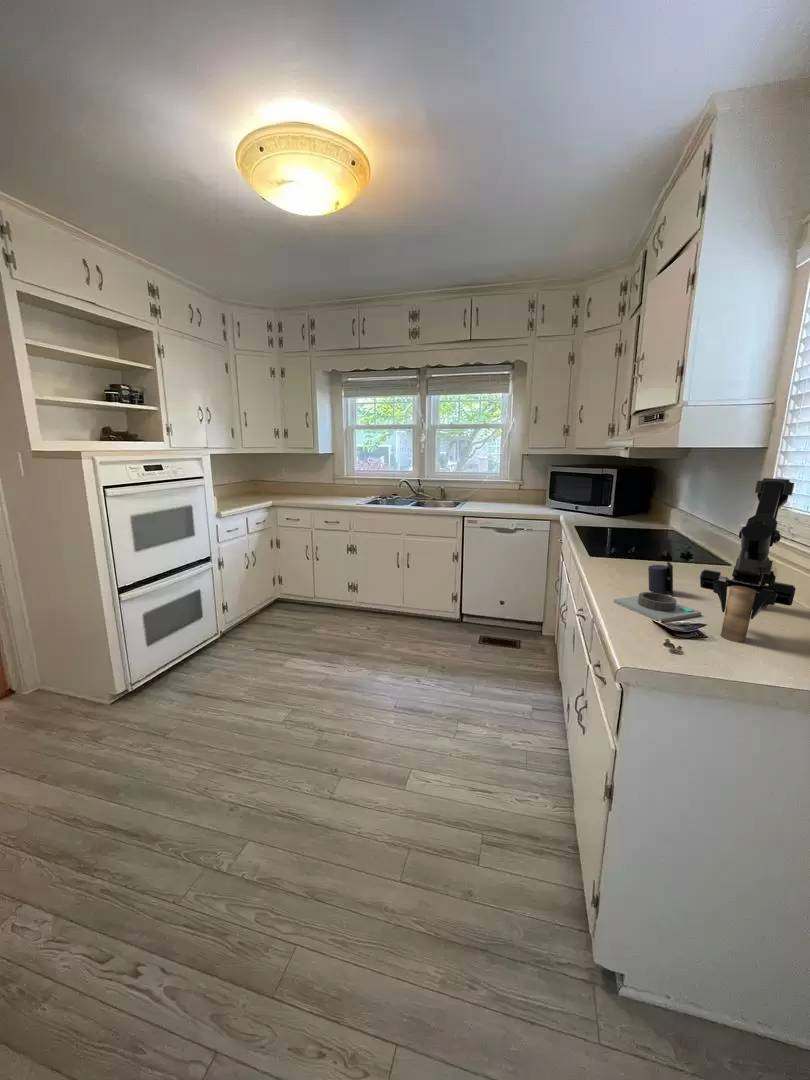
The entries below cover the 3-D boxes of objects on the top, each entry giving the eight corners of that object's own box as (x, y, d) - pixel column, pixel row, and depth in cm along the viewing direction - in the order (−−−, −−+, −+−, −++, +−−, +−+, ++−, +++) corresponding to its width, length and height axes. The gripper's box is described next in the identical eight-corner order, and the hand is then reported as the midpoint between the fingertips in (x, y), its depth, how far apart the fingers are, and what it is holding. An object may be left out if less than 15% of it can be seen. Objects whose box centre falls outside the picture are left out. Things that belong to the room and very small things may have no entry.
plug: (728, 632, 111) (738, 584, 108) (749, 640, 107) (760, 591, 104) (716, 635, 109) (725, 586, 107) (736, 643, 105) (747, 593, 102)
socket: (651, 596, 137) (652, 586, 136) (700, 615, 122) (702, 603, 122) (613, 602, 131) (614, 591, 130) (660, 622, 117) (662, 610, 116)
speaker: (675, 591, 142) (676, 561, 140) (672, 596, 138) (674, 565, 136) (649, 588, 147) (650, 559, 145) (646, 593, 143) (647, 563, 141)
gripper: (708, 539, 112) (691, 588, 107) (804, 553, 100) (791, 609, 94) (708, 563, 119) (693, 610, 114) (797, 578, 107) (785, 632, 101)
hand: (737, 614), depth 106 cm, fingers open, 5 cm apart
